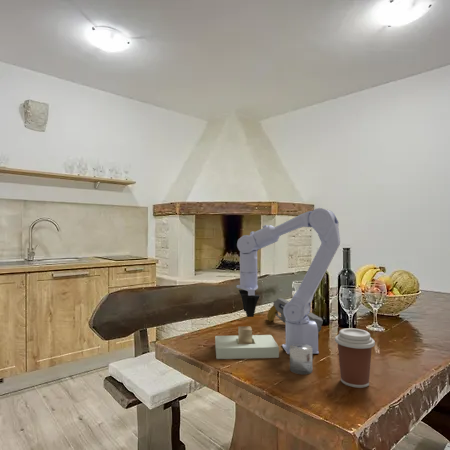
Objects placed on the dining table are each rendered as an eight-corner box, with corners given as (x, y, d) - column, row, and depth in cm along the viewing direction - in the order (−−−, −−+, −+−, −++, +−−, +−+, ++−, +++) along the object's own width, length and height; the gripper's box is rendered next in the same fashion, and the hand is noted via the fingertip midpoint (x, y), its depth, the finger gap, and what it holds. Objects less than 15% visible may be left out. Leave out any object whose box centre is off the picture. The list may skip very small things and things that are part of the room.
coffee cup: (353, 371, 92) (352, 325, 92) (383, 385, 84) (383, 334, 84) (327, 378, 87) (326, 330, 87) (356, 393, 79) (356, 340, 79)
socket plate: (271, 344, 114) (271, 334, 114) (278, 357, 102) (278, 347, 102) (215, 345, 113) (215, 335, 113) (216, 359, 101) (216, 348, 101)
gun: (307, 357, 126) (319, 321, 121) (263, 318, 145) (273, 286, 140) (313, 355, 128) (325, 320, 123) (269, 317, 146) (279, 285, 142)
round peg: (308, 365, 96) (308, 343, 96) (315, 374, 90) (315, 350, 90) (287, 366, 96) (287, 343, 96) (292, 374, 90) (292, 351, 90)
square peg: (250, 349, 109) (250, 326, 109) (252, 353, 105) (252, 329, 105) (238, 349, 109) (238, 326, 109) (239, 353, 105) (239, 330, 105)
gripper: (234, 269, 122) (234, 308, 122) (238, 275, 108) (238, 319, 108) (254, 269, 123) (254, 308, 123) (261, 274, 108) (261, 319, 108)
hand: (248, 313), depth 115 cm, fingers open, 7 cm apart
